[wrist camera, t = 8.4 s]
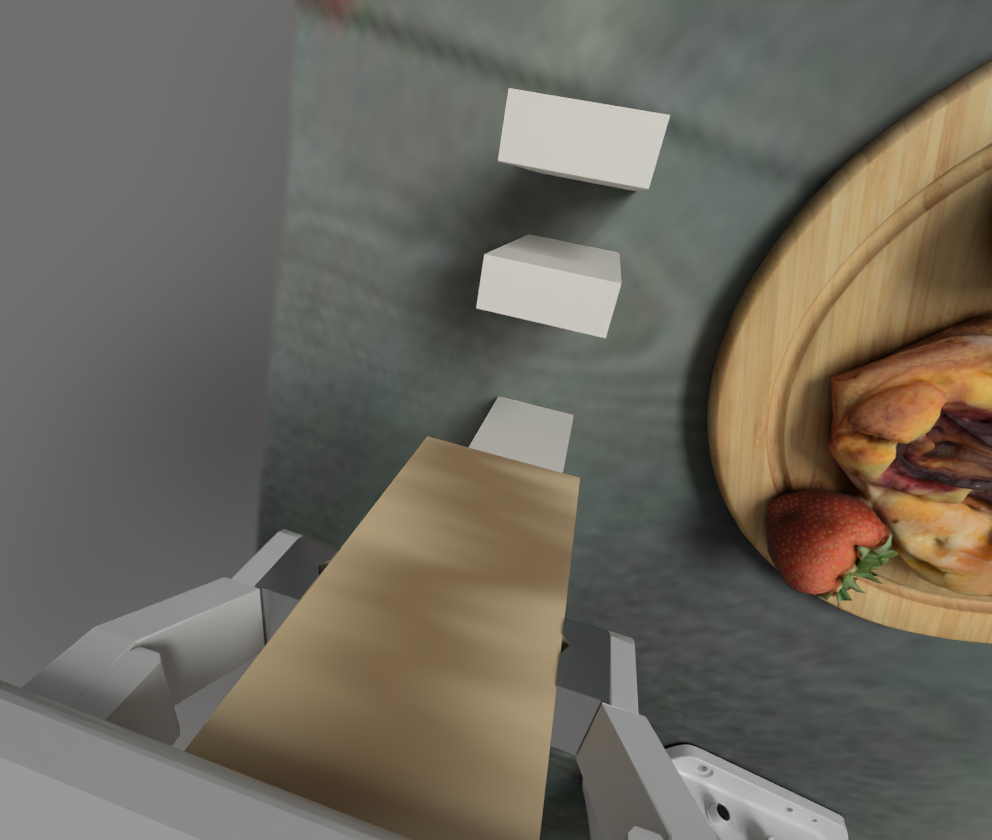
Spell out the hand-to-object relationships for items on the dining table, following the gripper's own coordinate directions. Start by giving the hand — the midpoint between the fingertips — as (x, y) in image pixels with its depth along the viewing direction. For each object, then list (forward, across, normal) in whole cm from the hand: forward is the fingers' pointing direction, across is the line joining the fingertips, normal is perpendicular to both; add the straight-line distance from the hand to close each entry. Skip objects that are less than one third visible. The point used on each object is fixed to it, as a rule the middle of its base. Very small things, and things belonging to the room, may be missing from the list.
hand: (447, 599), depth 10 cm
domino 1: (+5, 0, 0) cm, 5 cm away
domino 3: (+20, 0, -5) cm, 21 cm away
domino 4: (+20, 0, +5) cm, 21 cm away
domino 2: (+20, 0, -10) cm, 22 cm away
